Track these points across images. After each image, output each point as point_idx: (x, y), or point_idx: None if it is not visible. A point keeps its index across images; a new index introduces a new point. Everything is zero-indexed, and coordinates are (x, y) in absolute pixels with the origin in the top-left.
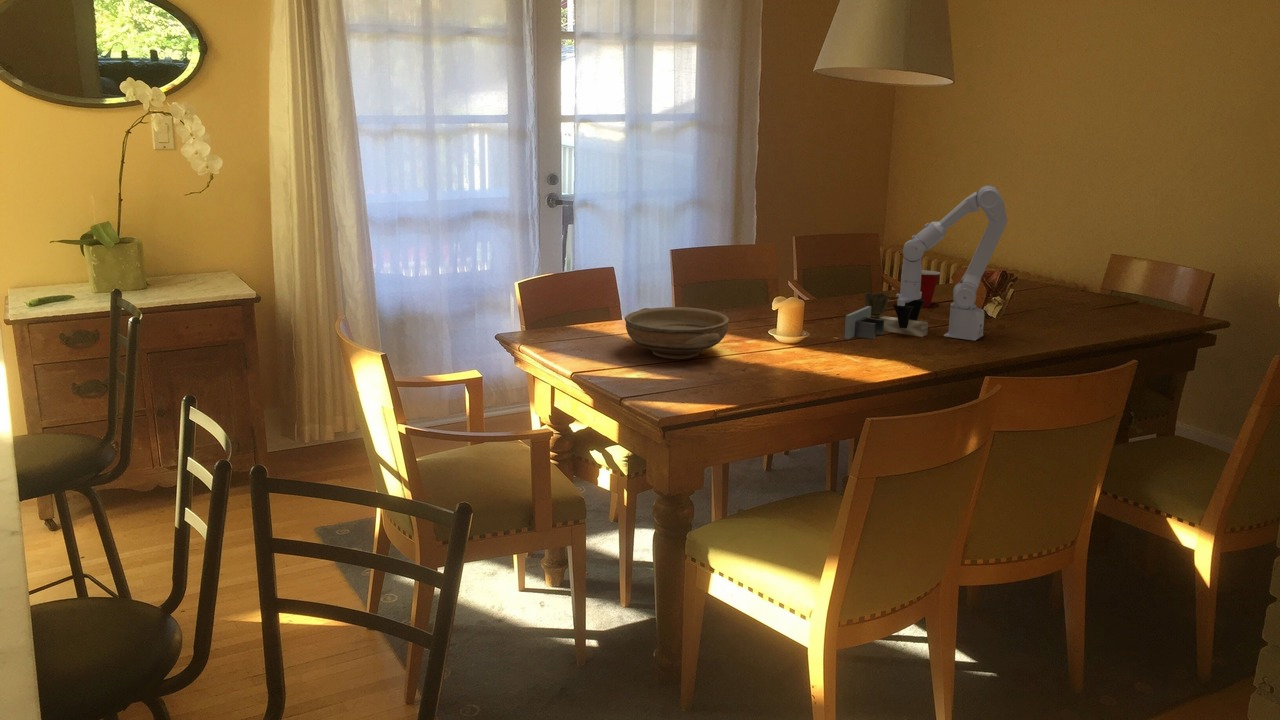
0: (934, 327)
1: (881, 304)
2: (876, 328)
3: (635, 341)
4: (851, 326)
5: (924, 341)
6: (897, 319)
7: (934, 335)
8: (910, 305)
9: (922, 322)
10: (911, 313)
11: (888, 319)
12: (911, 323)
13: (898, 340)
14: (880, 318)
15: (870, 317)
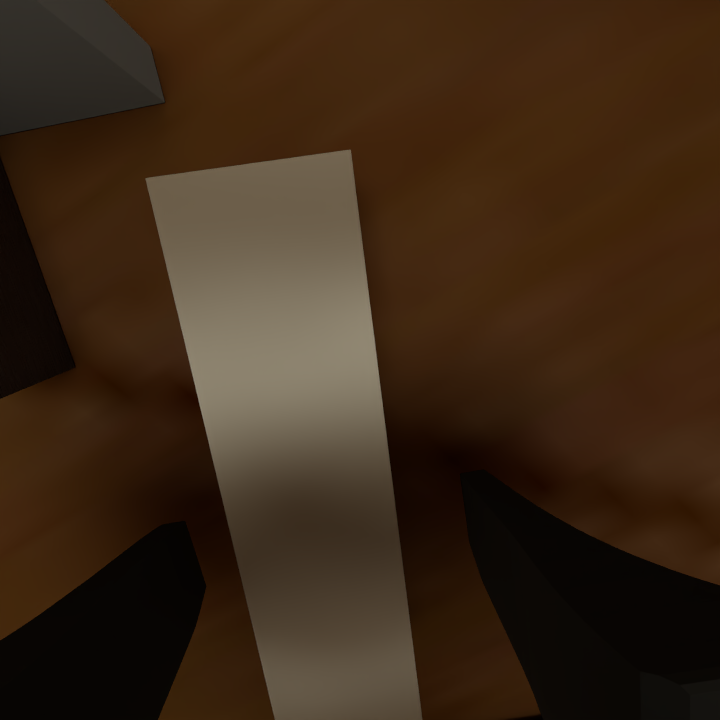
0: (715, 537)
1: None
2: None
3: None
4: None
5: (172, 716)
6: (284, 443)
7: (418, 673)
8: (577, 689)
9: (370, 715)
10: (510, 581)
11: (188, 347)
12: (260, 641)
13: (17, 578)
14: (155, 208)
15: (61, 27)
